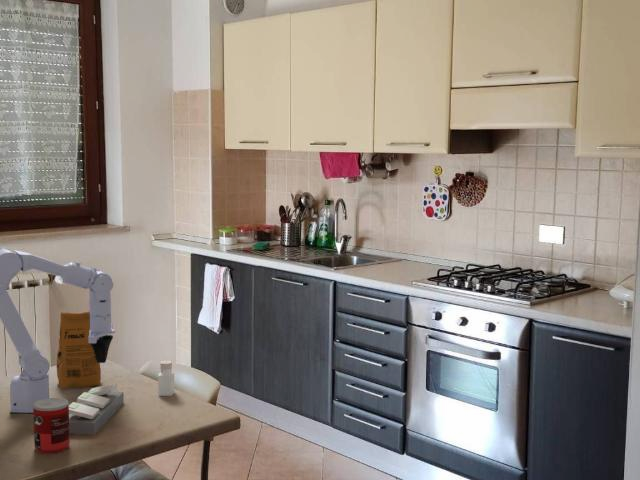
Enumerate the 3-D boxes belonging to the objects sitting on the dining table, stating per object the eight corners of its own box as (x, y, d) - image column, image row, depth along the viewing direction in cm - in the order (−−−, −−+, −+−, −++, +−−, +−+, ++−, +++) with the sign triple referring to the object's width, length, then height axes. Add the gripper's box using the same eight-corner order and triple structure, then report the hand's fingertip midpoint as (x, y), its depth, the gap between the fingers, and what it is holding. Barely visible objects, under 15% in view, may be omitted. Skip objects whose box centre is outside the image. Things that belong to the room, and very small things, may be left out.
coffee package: (57, 380, 238) (55, 308, 236) (100, 377, 242) (98, 306, 239) (57, 390, 229) (54, 316, 226) (101, 387, 233) (99, 313, 230)
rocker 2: (64, 416, 197) (65, 408, 197) (71, 409, 202) (73, 401, 202) (91, 423, 197) (93, 415, 197) (98, 416, 202) (99, 408, 202)
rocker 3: (87, 401, 213) (85, 393, 213) (93, 395, 218) (92, 387, 218) (112, 396, 213) (110, 388, 213) (118, 390, 218) (116, 382, 218)
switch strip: (58, 433, 196) (58, 421, 196) (95, 397, 224) (95, 387, 223) (94, 434, 196) (94, 422, 196) (127, 398, 223) (127, 388, 223)
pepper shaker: (171, 396, 225) (171, 364, 224) (157, 396, 225) (157, 364, 224) (174, 392, 229) (174, 360, 228) (161, 392, 229) (160, 360, 228)
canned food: (39, 441, 191) (37, 397, 190) (73, 441, 192) (72, 397, 190) (30, 454, 183) (28, 408, 182) (65, 453, 184) (64, 408, 183)
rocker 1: (75, 405, 205) (77, 397, 205) (82, 399, 210) (84, 391, 210) (101, 412, 205) (103, 404, 205) (108, 405, 210) (109, 398, 210)
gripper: (106, 320, 213) (107, 370, 214) (122, 309, 227) (123, 355, 229) (80, 320, 213) (81, 369, 215) (98, 308, 227) (99, 354, 229)
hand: (101, 362), depth 222 cm, fingers closed
